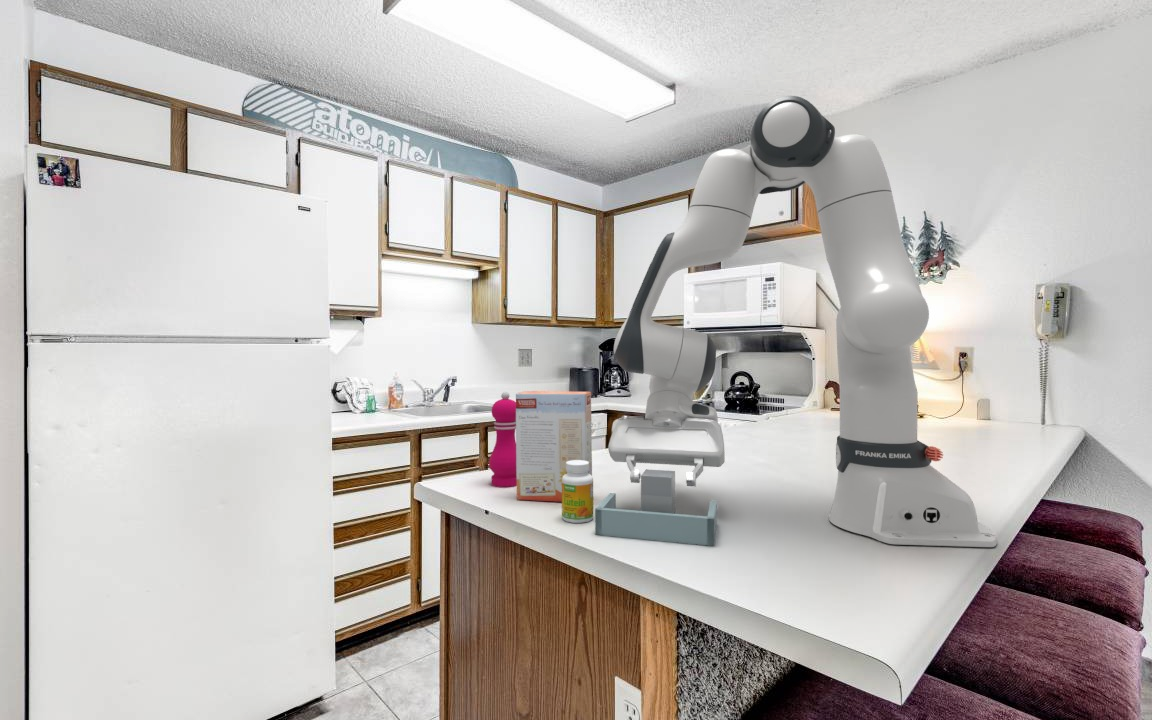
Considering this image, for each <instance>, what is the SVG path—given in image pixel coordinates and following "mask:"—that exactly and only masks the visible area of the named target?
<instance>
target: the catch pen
mask: <svg viewBox="0 0 1152 720" xmlns="http://www.w3.org/2000/svg"><path fill="white" fill-rule="evenodd" d="M616 499H617V498H616V493H615V492H610V493H609V494H608V495H606V496H605V498H604V499H603V500H602V501H601V502H600V503H599V504H598V505H597V506H596V508H595V509H594V511H595V512H594V513H595V514H594V515H595V516H594V518H595V519H594V521H595V524H594V532H595V533H594V534H595V536H603V537H604V536H606V537H615V538H617V537H618V538H624V539H625V538H626V539H628V538H629V539H635V540H636V539H638V540H645V541H646V540H648V541H654V542H655V541H657V542H667V543H677V542H678V544H679V543H680V544H686V543H688V544H689V545H696V544H697V545H698V546H699V545H700V546H706V545H707V546H709V547H715V541H716V535H717V528H718V501H717V500H710V502H709V507H708V510H707V515H694V514H682V513H675V514H671V513H659V512H647V511H641V510H635V509H634V510H632V509H624V508H623V509H621V508H620V509H619V508H617V506H616V505H617V503H616V501H617V500H616ZM688 544H687V545H688Z"/></svg>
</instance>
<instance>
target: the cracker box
mask: <svg viewBox="0 0 1152 720" xmlns="http://www.w3.org/2000/svg"><path fill="white" fill-rule="evenodd" d="M515 402H516V420H515V421H516V428H515V441H516V476H517V486H516V500H518V501H535V502H537V501H538V502H540V501H542V502H557V503H558V502H559V503H560V502H561V503H562V477H563V476H564V475H565V474H567V471H566V462H567V461H571V460H584V461H588V462H589V471H588V474H590V475H591V476H592V477H593V451H592V450H593V449H592V443H593V441H592V440H593V438H592V437H593V436H592V433H593V432H592V392H591V391H570V390H569V391H564V390H562V391H561V390H533V391H532V390H530V391H529V390H527V391H526V390H525V391H524V390H523V391H521V392H517V393H515Z"/></svg>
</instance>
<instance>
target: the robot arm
mask: <svg viewBox="0 0 1152 720" xmlns="http://www.w3.org/2000/svg"><path fill="white" fill-rule="evenodd" d="M835 135H836V129H835V126H834V125H833V124H832V123H831V122H830V121H829V120H828V119H827V118H826V117H825V116H823V115H822V113H821V112H820V111H819V110H818V108H817V107H815V106H814V105H813V103H811V102H810V101H808V100H807V99H805V98H803V97H801V96H797V95H786V96H785V95H784V96H781V97H778V98H776V99H773V100H772V101H771V102H769V103H767V105H766V106H764V107H763V108H762V110H760V111H759V113H758V115H757V117H756V118H755V120H754V122H753V126H752V128H751V133H750V144H749V145H747V146H746V147H743V148H739V149H737V148H725V149H724V148H722V149H720V150H718V151H715V152H712V154H710V155H709V156H708V158H707V159H706V160H705V162H704V165H703V167H702V169H701V171H700V174H699V176H698V178H697V181H696V185H695V186H694V190H693V193H692V195H691V196H692V197H691V199H690V202H689V207H688V210H687V214H686V217H685V218H684V220H683V222H682V224H681V225H680V226H679V227H678V228H677V229H676V230H675V231H674V232H673V231H672V232H670V233H667V234H666V235H665V236H664V238H663V239H662V240H661V241H660V244H659V245H658V247H657V249H656V252H655V254H654V256H653V258H652V260H651V262H650V264H649V265H648V268H647V271H646V273H645V276H644V278H643V280H642V282H641V285H640V287H639V290H638V292H637V294H636V296H635V299H634V301H633V303H632V306H631V309H630V312H629V314H628V315H627V317H626V319H625V320H624V322H623V323H622V325H621V327H620V328H619V330H618V332H617V334H616V336H615V340H614V344H613V358H614V359H615V361H616V362H617V364H618V366H620V367H621V369H622V370H623V371H625V372H626V373H633V374H634V373H635V374H640V375H643V374H645V375H649V376H650V379H649V387H648V389H649V392H650V394H649V395H648V398H647V401H646V407H645V416H629V415H628V416H627V415H622V416H621V417H620V418H617V419H615V420H613V422H612V426H611V436H610V438H609V442H608V446H607V449H608V453H609V456H610V458H611V459H612V461H613V462H617V463H626V465H627V469H628V470H629V472H630V476H629V480H630V483H635V484H641V475H642V473H641V470H640V469H637V468H636V469H635V467H636V465H637V464H651V465H652V464H654V465H669V466H670V465H673V466H674V465H675V466H689V467H690V466H694V469H693V470H692V471H689V472H688V471H687V472H686V479H685V481H686V482H685V483H686V487H694V488H695V487H696V486H697V479H698V478H699V476H701V474H702V472H704V467H709V468H720V467H721V466H723V465H724V464H725V462H726V461H725V460H726V458H725V452H726V451H725V442H724V441H725V440H724V434H723V430H722V426H721V425H720V423H719V419H718V413H717V410H716V408H715V407H713V406H710V405H707V404H703V403H699V402H697V401H694V400H693V398H694V395H695V392H696V393H697V392H699V391H701V390H702V389H704V387H706V386H707V385H708V384H709V383H710V381H711V380H712V378H713V377H714V373H715V370H716V362H717V361H716V360H717V359H716V358H717V347H716V345H715V343H714V341H713V339H712V338H711V337H710V335H709V334H706V333H704V332H700V331H697V330H694V329H693V330H692V329H687V328H683V327H677V326H672V325H668V324H664V323H659V322H656V321H655V320H653V319H652V315H653V314H654V311H655V309H656V306H657V305H658V301H659V299H660V297H661V295H662V293H663V290H664V288H665V286H666V283H667V282H668V280H669V278H670V277H671V276H672V275H673V274H676V272H678V271H681V270H683V269H688V268H694V267H700V266H701V267H702V266H708V265H714V264H718V263H720V262H723V261H726V260H728V259H730V258H732V257H733V256H734V255H735V254H737V253H738V252H739V251H740V249H741V248H742V247H743V245H744V243H745V240H746V238H747V234H748V232H749V229H750V225H751V220H752V217H753V213H754V209H755V204H756V203H757V198H758V196H759V194H760V195H765V194H772V193H777V192H782V193H783V192H789V191H793V190H796V189H798V188H800V187H801V186H803V185H804V184H807V186H808V187H809V188H810V190H811V192H812V194H813V197H814V202H815V207H816V213H817V219H818V222H819V223H818V224H819V227H820V228H819V229H820V232H821V238H822V242H823V248H824V252H825V253H824V254H825V256H826V257H825V258H826V262H827V263H828V266H829V269H830V272H831V276H832V279H833V283H834V286H835V290H836V292H837V297H838V301H839V306H840V307H839V308H838V312H837V315H836V320H835V322H836V324H835V325H836V330H835V331H836V351H837V352H836V354H837V371H838V383H839V435H838V436H837V437H836V443H835V466H836V469H837V470H838V471H837V478H836V479H837V481H836V488H835V493H834V498H833V502H832V507H831V510H830V512H829V516H828V520H829V522H830V523H831V524H833V525H835V526H836V527H838V528H841V529H843V530H845V531H848V532H851V533H854V534H857V535H863V536H865V537H869V538H872V539H875V540H876V541H879V542H881V543H885V544H889V545H899V546H900V545H903V546H904V545H908V546H934V547H935V546H938V547H941V546H942V547H966V548H967V547H970V548H972V547H973V548H994V547H996V546H997V536H996V534H995V532H994V531H992V530H991V528H989V527H988V526H986V525H985V524H983V523H982V522H979V521H978V515H977V511H976V507H975V503H974V500H973V499H972V498H971V496H970V495H969V494H968V493H967V492H966V491H965V490H964V489H962V488H961V487H960V486H958V485H957V484H956V483H955V482H953V481H952V480H951V479H949V478H948V477H947V476H945V475H944V474H943V473H942V472H940V471H939V470H937V469H936V468H935V467H933V466H932V465H931V463H932V462H940V461H941V460H942V459H943V458H944V457H943V456H944V454H943V452H944V451H941V449H940V448H937V447H936V446H933V445H932V446H929V445H927V444H925V443H924V442H922V441H919V440H918V389H917V386H916V381H915V380H916V379H915V375H914V369H913V362H912V355H911V346H913V345H914V344H915V343H916V342H917V341H918V340H919V339H920V338H921V337H922V335H923V333H924V332H925V331H926V329H927V327H928V326H927V325H928V322H929V319H930V311H929V305H928V303H927V301H926V299H925V297H924V296H923V293H922V290H921V287H920V284H919V281H918V278H917V276H916V275H917V274H916V273H915V270H914V267H913V265H912V263H911V260H910V257H909V255H908V253H907V250H906V246H905V244H904V241H903V237H902V233H901V229H900V224H899V219H898V215H897V211H896V205H895V202H894V196H893V192H892V188H891V183H890V179H889V177H888V173H887V169H886V167H885V163H884V162H883V159H882V157H881V155H880V152H879V149H878V148H877V146H876V144H875V142H874V141H873V140H872V138H870V137H868V136H867V135H863V134H859V133H853V134H852V133H851V134H845V135H840V136H835Z"/></svg>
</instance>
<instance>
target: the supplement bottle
mask: <svg viewBox="0 0 1152 720" xmlns="http://www.w3.org/2000/svg"><path fill="white" fill-rule="evenodd" d="M566 471H567V474H565V475H564V476H563V477H562V502H561V518H562V520H563V521H565V522H567V523H571V524H582V523H588V522H590V521H592V520H593V518H594V477H593V475H592V476H591V475H590V474H588V471H589V462H588V461H584V460H571V461H567V462H566Z"/></svg>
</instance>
